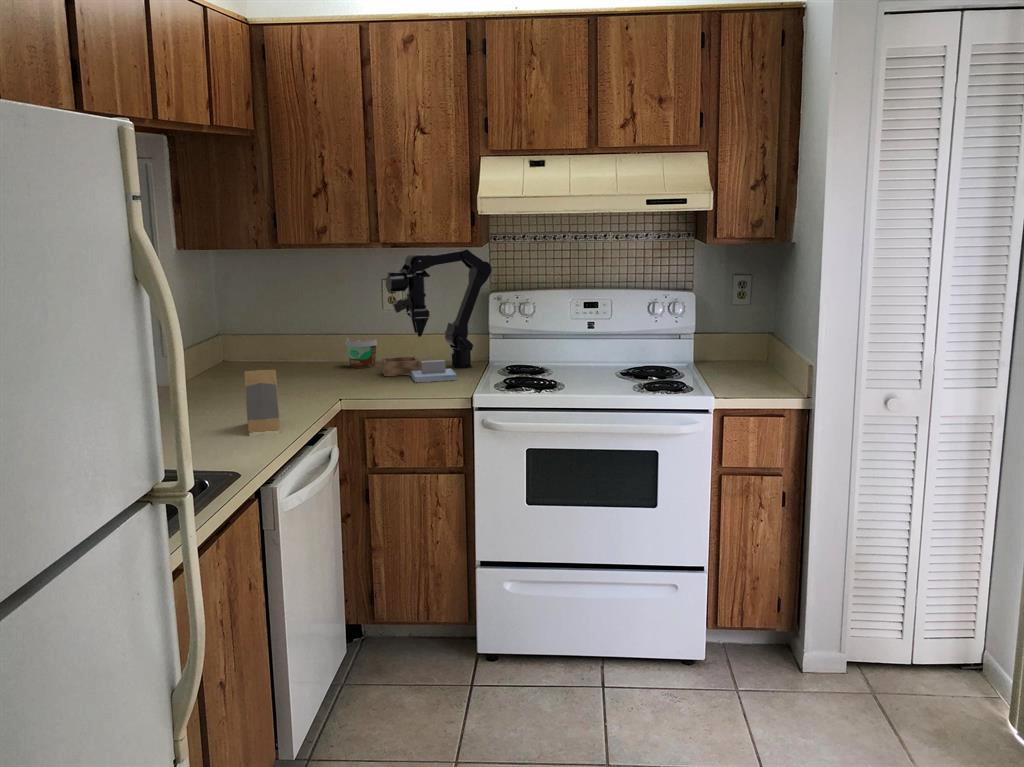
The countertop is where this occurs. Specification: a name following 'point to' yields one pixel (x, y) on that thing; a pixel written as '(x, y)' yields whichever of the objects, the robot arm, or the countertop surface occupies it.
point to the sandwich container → (262, 401)
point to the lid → (433, 372)
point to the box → (399, 365)
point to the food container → (362, 352)
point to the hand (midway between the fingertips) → (418, 334)
